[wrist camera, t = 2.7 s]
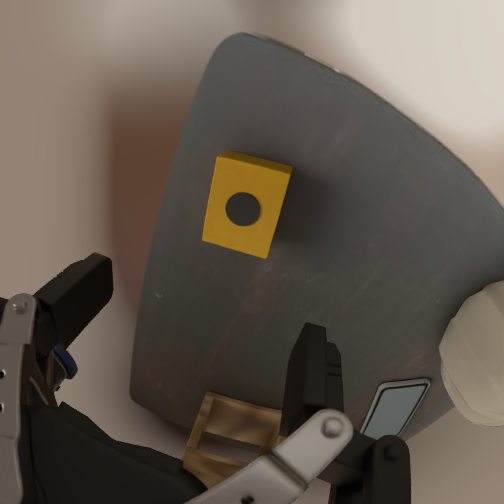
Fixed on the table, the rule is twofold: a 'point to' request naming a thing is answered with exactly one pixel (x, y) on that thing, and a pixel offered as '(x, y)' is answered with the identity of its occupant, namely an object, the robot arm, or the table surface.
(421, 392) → the smartphone
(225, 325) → the table surface
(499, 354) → the vase
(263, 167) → the measuring tape
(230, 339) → the table surface
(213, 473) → the shelf
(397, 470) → the robot arm
